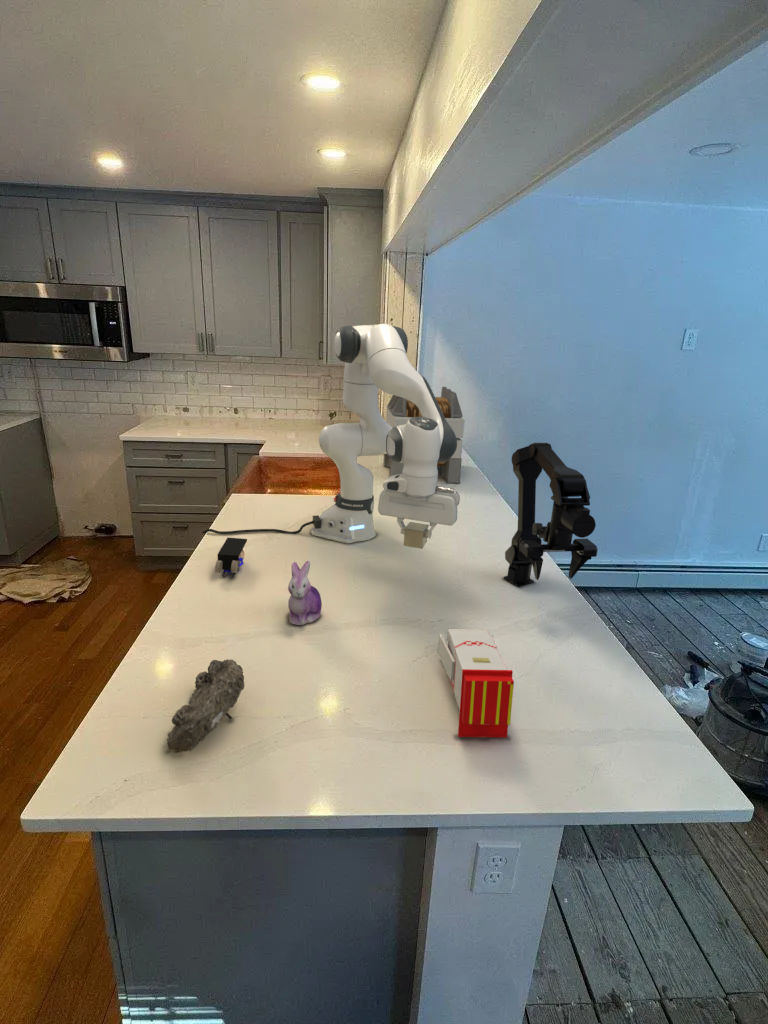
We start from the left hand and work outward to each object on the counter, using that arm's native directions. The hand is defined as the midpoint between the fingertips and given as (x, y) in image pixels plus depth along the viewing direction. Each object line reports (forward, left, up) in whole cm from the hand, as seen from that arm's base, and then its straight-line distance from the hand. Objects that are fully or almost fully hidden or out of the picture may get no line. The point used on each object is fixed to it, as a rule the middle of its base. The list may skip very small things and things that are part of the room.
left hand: (415, 535), depth 146 cm
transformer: (-26, +128, -20) cm, 132 cm away
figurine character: (-55, +2, -20) cm, 58 cm away
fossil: (-26, -56, -20) cm, 65 cm away
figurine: (-24, -16, -20) cm, 35 cm away
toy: (+20, -32, -20) cm, 43 cm away
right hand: (+36, +7, -9) cm, 37 cm away
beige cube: (0, 0, -2) cm, 2 cm away
